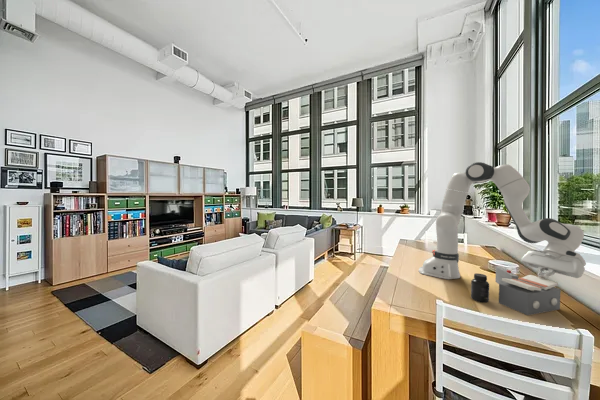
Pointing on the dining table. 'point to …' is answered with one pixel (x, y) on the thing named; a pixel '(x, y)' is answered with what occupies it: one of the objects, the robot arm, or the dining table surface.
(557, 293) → the switch console
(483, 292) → the supplement bottle
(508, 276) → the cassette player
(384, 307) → the dining table surface
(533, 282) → the right rocker
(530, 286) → the left rocker
